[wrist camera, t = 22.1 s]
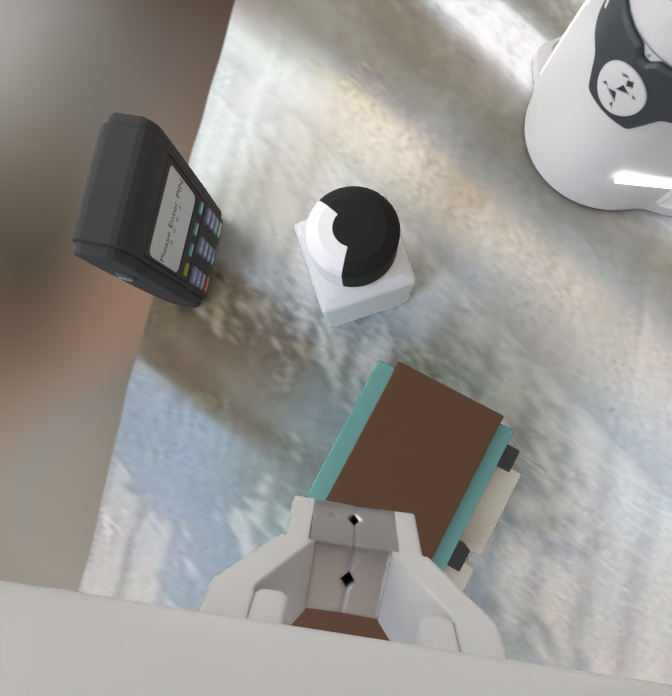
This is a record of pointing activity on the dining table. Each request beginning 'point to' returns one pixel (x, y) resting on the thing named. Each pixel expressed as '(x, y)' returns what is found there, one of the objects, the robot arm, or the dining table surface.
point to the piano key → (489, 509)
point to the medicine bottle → (355, 254)
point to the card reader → (147, 213)
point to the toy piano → (412, 468)
